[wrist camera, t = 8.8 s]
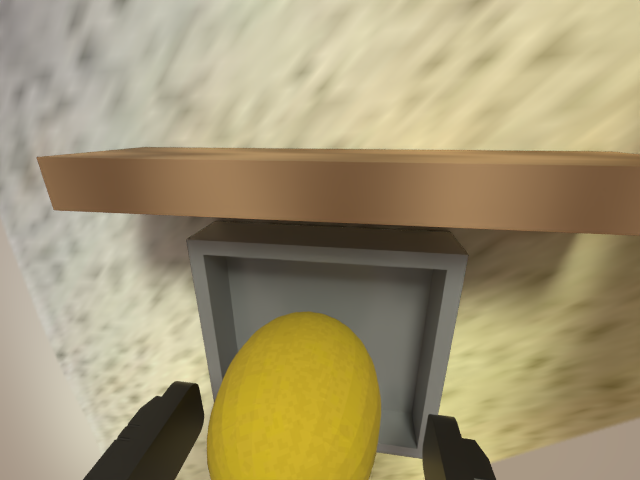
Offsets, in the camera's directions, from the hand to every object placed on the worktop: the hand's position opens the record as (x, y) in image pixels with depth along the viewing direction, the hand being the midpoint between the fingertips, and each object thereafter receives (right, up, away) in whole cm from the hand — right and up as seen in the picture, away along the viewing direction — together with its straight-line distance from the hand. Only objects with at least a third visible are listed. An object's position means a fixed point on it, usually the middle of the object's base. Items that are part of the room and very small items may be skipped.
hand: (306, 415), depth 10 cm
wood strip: (+2, +9, +2) cm, 9 cm away
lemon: (0, +2, +4) cm, 5 cm away
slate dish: (+1, +2, +5) cm, 5 cm away
